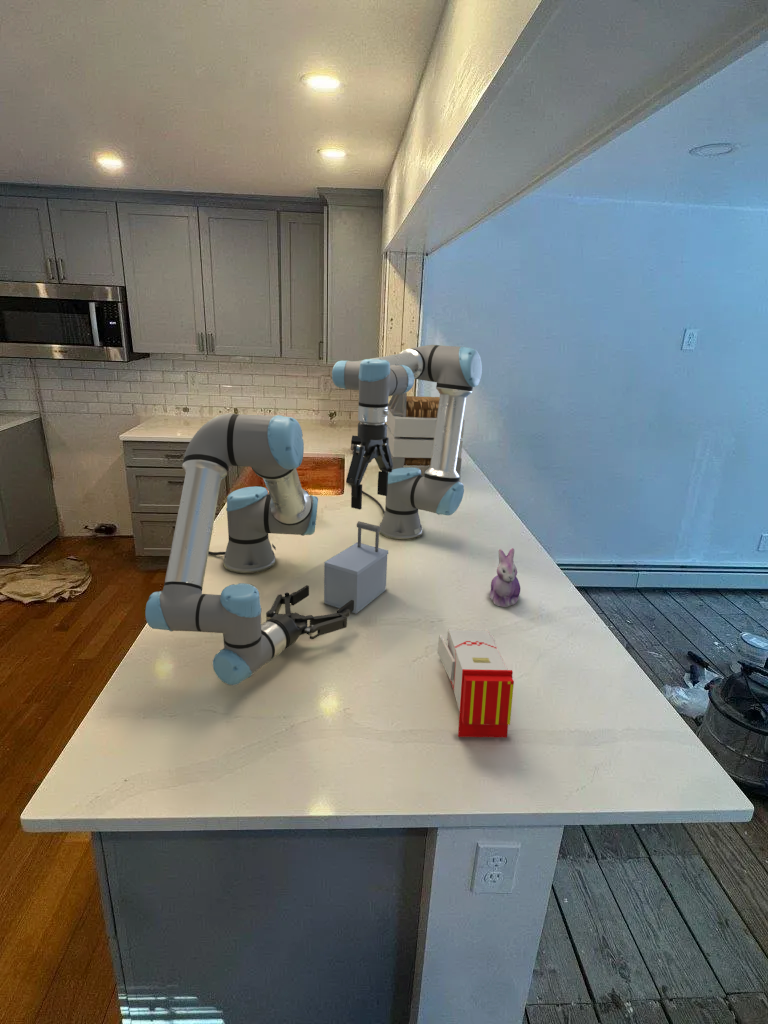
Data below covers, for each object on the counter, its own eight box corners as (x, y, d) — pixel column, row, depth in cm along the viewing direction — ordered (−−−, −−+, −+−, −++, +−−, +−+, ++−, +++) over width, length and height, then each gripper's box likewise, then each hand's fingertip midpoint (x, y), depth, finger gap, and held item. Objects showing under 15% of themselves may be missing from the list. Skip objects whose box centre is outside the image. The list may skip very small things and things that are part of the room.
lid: (357, 545, 161) (357, 517, 158) (388, 553, 156) (389, 525, 153) (324, 565, 147) (324, 535, 145) (357, 575, 143) (358, 544, 140)
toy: (488, 613, 130) (523, 677, 101) (484, 667, 133) (517, 744, 104) (435, 612, 130) (455, 676, 101) (432, 666, 133) (451, 743, 103)
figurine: (502, 611, 151) (509, 560, 146) (479, 594, 159) (485, 545, 154) (530, 604, 155) (537, 554, 150) (506, 588, 163) (512, 540, 158)
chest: (355, 580, 164) (356, 546, 161) (385, 590, 160) (387, 554, 156) (323, 603, 151) (324, 565, 147) (356, 613, 147) (357, 575, 143)
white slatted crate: (382, 463, 289) (386, 382, 275) (445, 464, 293) (451, 384, 279) (390, 482, 257) (394, 392, 243) (460, 483, 261) (468, 394, 247)
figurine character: (362, 457, 305) (363, 447, 318) (362, 443, 301) (363, 434, 315) (350, 456, 304) (351, 447, 318) (350, 443, 301) (351, 434, 314)
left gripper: (232, 633, 132) (290, 597, 149) (320, 669, 120) (371, 625, 138) (231, 605, 129) (290, 571, 147) (321, 638, 118) (373, 597, 135)
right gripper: (359, 432, 132) (357, 517, 139) (408, 417, 153) (403, 492, 160) (332, 427, 135) (331, 511, 143) (383, 414, 156) (380, 487, 163)
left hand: (329, 597), depth 142 cm, fingers open, 13 cm apart
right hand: (369, 501), depth 151 cm, fingers open, 13 cm apart
